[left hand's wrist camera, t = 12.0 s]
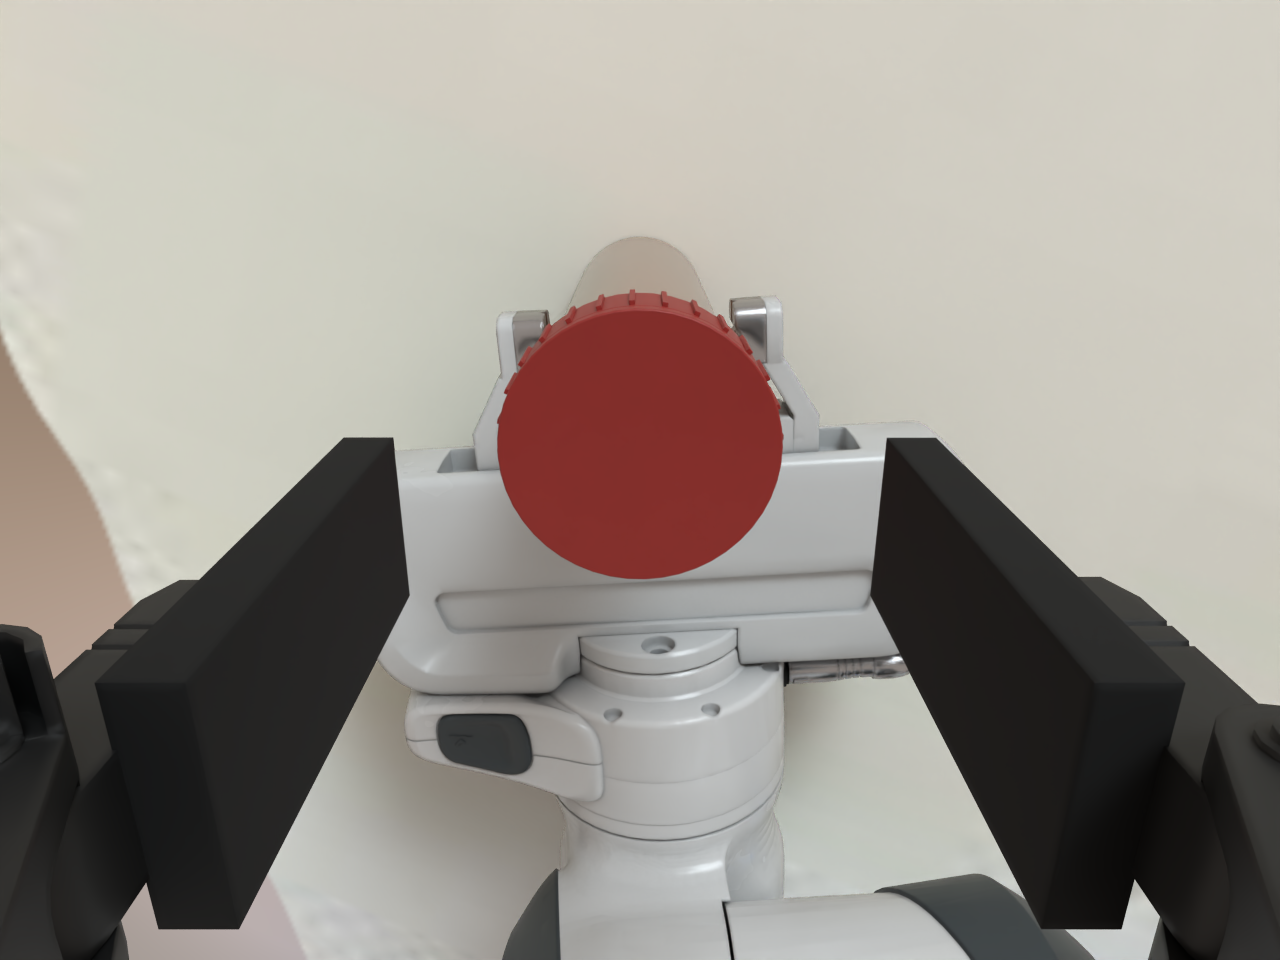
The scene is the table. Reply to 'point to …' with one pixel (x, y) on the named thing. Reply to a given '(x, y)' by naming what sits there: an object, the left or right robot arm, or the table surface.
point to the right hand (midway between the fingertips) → (638, 306)
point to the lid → (639, 436)
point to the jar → (640, 273)
